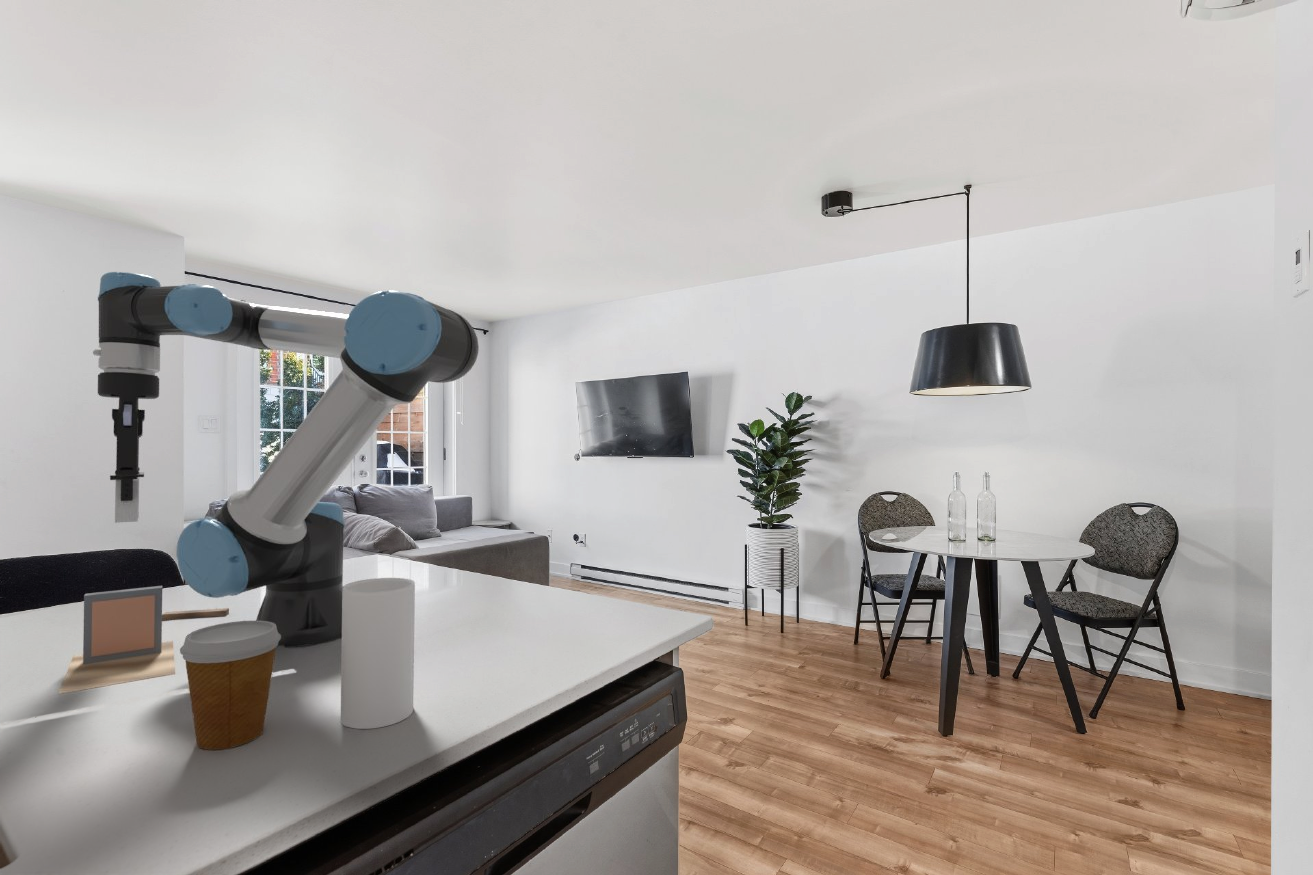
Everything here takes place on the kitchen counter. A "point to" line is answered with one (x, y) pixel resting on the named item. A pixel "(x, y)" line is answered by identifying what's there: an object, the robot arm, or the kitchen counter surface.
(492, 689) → the kitchen counter surface
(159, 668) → the board
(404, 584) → the cup
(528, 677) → the kitchen counter surface
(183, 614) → the turner
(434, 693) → the kitchen counter surface
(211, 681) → the disposable coffee cup
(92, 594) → the tile
